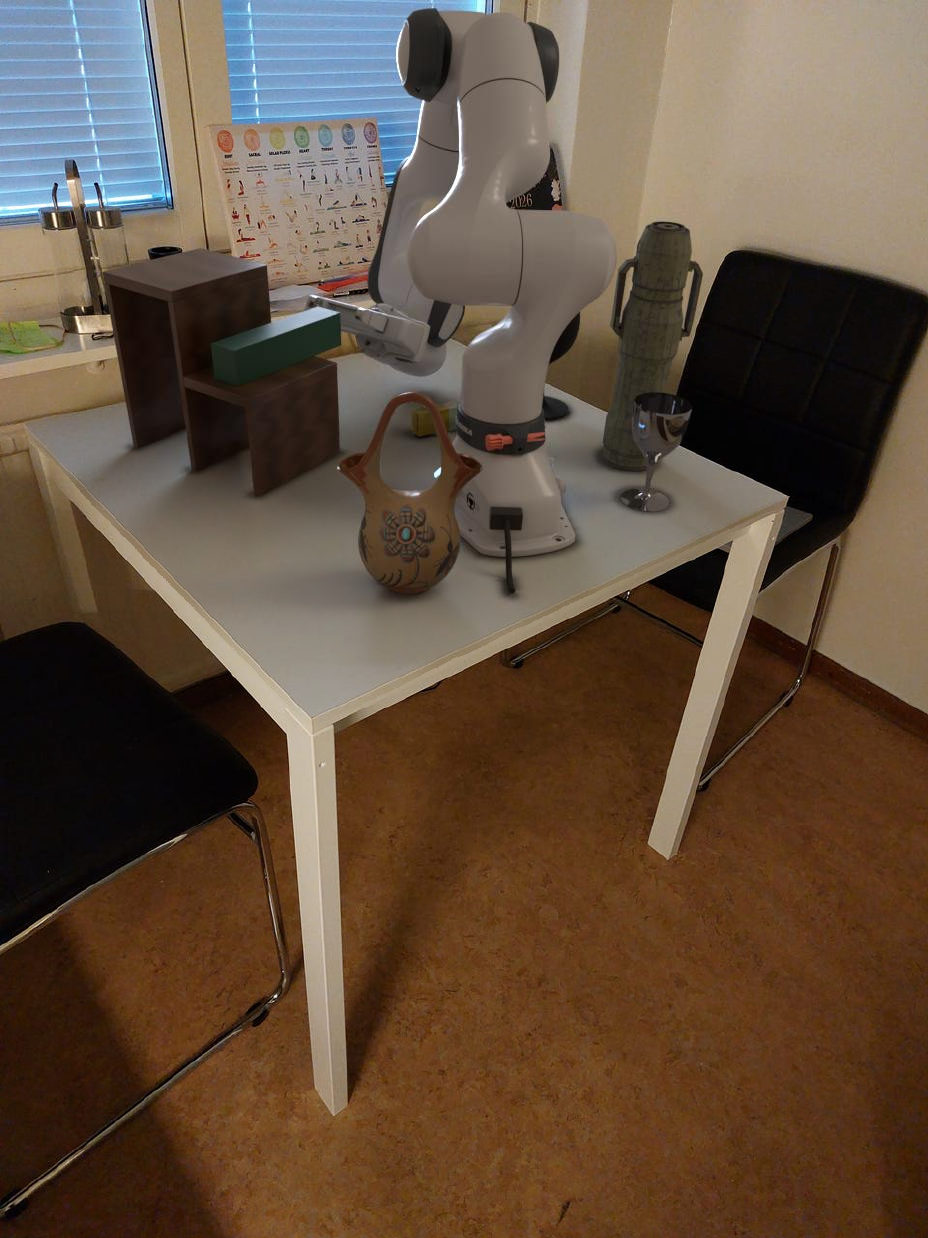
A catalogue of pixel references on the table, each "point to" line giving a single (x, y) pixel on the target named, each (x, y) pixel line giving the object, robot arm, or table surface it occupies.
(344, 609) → the table surface
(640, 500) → the wine glass
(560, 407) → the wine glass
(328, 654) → the table surface
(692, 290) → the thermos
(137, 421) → the step shelf
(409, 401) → the ceramic vessel
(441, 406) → the medication box
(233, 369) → the carton
